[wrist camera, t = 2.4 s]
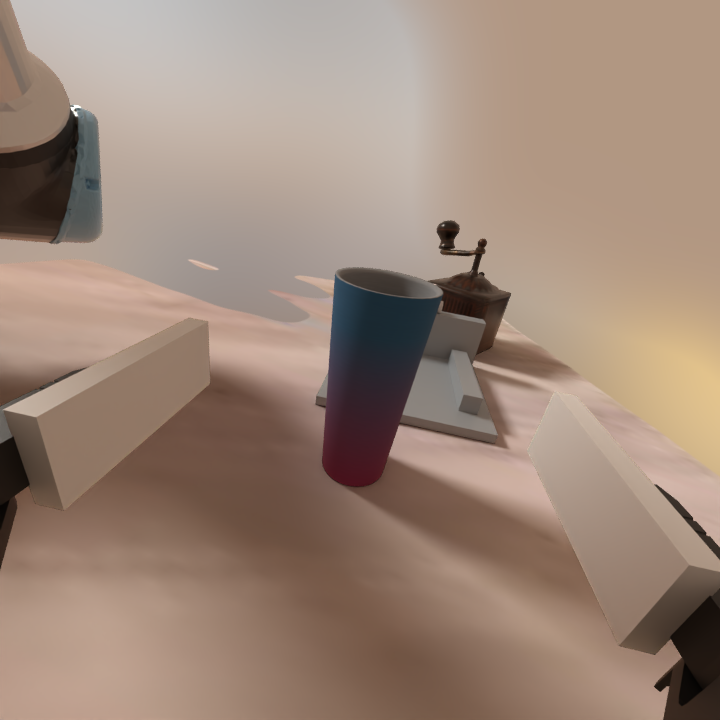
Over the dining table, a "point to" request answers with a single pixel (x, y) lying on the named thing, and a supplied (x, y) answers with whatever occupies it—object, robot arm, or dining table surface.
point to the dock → (447, 382)
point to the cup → (372, 366)
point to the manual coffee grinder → (471, 288)
